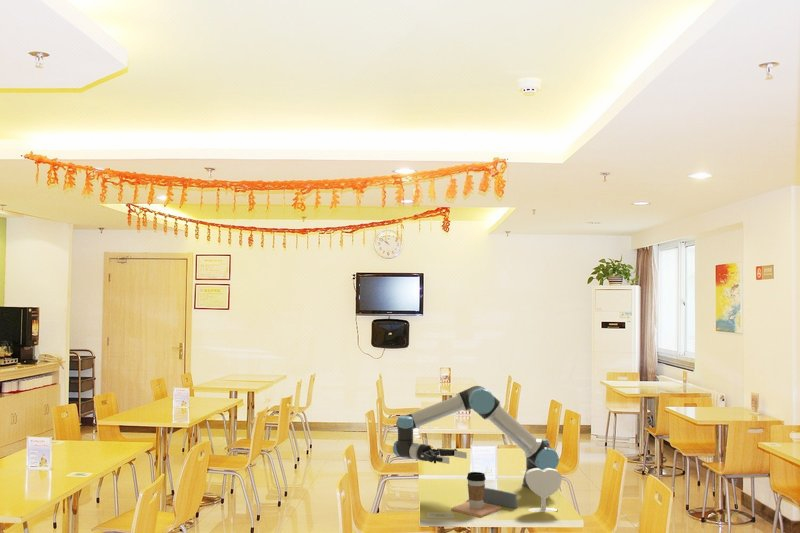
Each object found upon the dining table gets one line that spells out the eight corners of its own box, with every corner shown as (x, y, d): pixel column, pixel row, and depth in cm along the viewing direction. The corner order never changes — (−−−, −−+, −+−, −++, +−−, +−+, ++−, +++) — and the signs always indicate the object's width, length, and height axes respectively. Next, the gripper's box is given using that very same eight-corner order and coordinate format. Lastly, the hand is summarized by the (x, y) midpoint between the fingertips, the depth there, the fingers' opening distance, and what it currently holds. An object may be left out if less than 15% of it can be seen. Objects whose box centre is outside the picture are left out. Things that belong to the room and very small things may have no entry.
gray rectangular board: (472, 497, 321) (472, 485, 322) (516, 507, 306) (516, 493, 306) (470, 498, 320) (470, 485, 321) (515, 508, 305) (515, 494, 305)
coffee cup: (470, 510, 298) (470, 475, 299) (464, 505, 306) (464, 471, 307) (488, 509, 300) (488, 474, 301) (481, 503, 308) (481, 470, 309)
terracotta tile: (471, 502, 314) (471, 500, 314) (501, 509, 303) (501, 506, 303) (451, 510, 301) (451, 507, 302) (481, 517, 291) (481, 515, 291)
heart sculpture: (559, 508, 305) (558, 467, 306) (562, 511, 300) (562, 470, 301) (525, 508, 304) (524, 467, 305) (527, 511, 299) (527, 470, 300)
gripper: (437, 455, 333) (473, 461, 319) (404, 464, 314) (441, 471, 300) (436, 440, 333) (473, 445, 320) (404, 448, 314) (441, 454, 301)
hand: (457, 457), depth 310 cm, fingers open, 13 cm apart
